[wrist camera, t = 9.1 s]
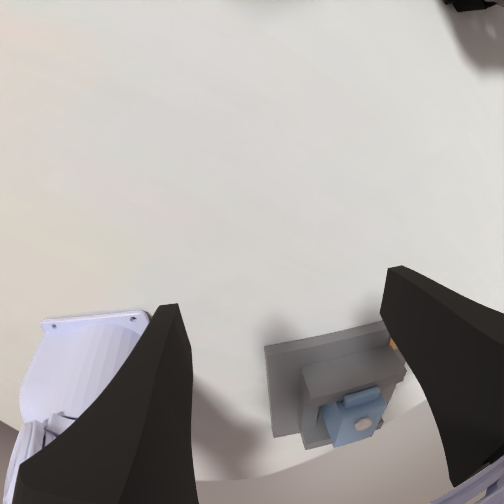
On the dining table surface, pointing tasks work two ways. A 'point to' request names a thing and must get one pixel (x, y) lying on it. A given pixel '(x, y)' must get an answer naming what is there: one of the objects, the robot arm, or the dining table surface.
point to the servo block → (353, 416)
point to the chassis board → (328, 377)
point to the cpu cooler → (474, 4)
